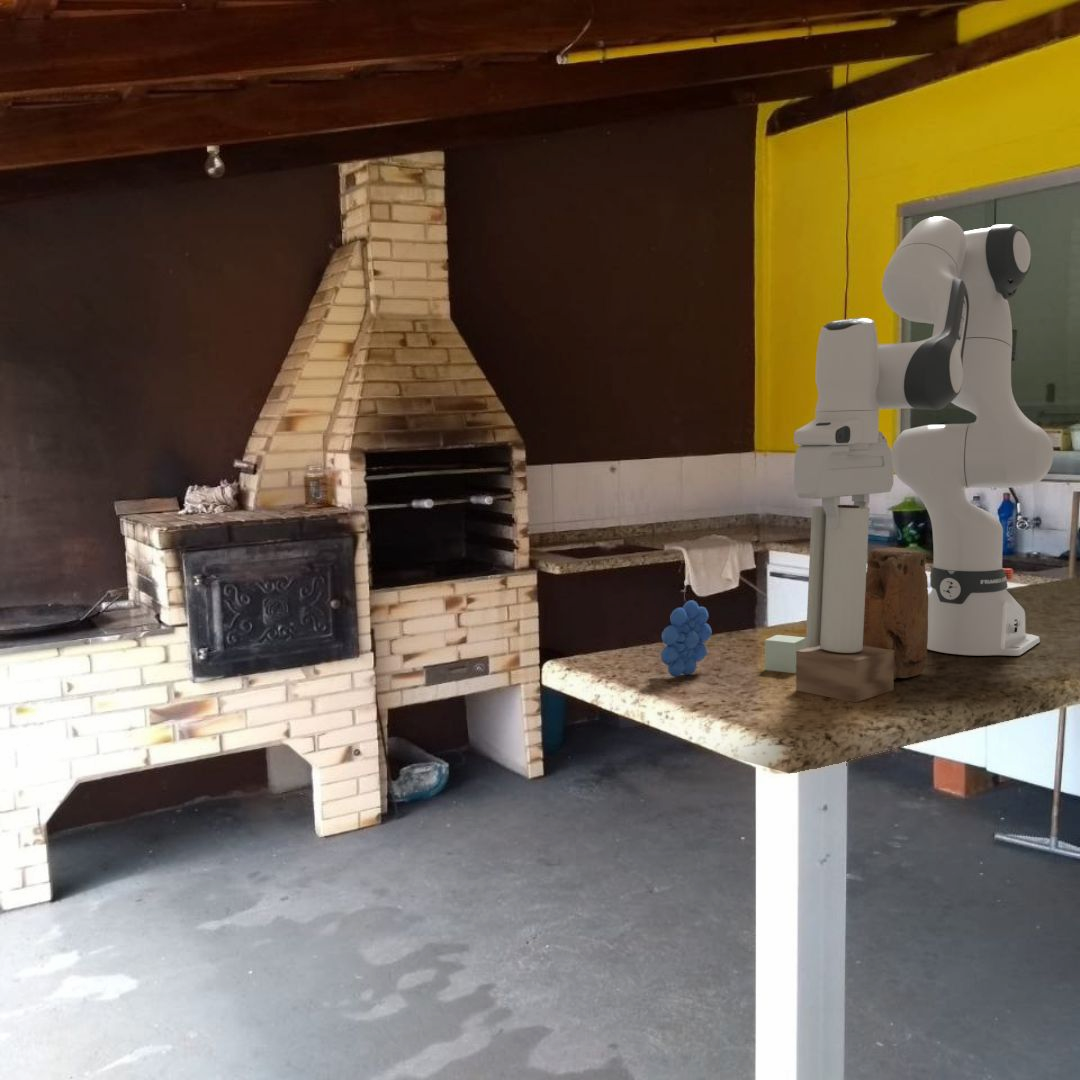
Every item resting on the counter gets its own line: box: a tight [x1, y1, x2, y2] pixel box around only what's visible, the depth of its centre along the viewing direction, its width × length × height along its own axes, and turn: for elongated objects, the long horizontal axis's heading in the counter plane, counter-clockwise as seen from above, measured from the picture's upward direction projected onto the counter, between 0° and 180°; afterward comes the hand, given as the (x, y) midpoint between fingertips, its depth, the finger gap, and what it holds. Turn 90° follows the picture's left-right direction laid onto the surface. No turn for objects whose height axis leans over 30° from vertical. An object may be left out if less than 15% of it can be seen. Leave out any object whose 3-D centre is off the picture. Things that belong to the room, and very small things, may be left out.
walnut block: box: [795, 646, 894, 703], centre depth 155 cm, size 10×10×6 cm
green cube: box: [764, 634, 806, 674], centre depth 171 cm, size 5×5×5 cm
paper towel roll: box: [805, 504, 870, 653], centre depth 154 cm, size 7×6×21 cm
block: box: [863, 546, 929, 680], centre depth 163 cm, size 11×8×20 cm
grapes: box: [660, 599, 713, 678], centre depth 167 cm, size 12×7×12 cm, turn 134°
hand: (845, 527), depth 153 cm, fingers open, 4 cm apart
